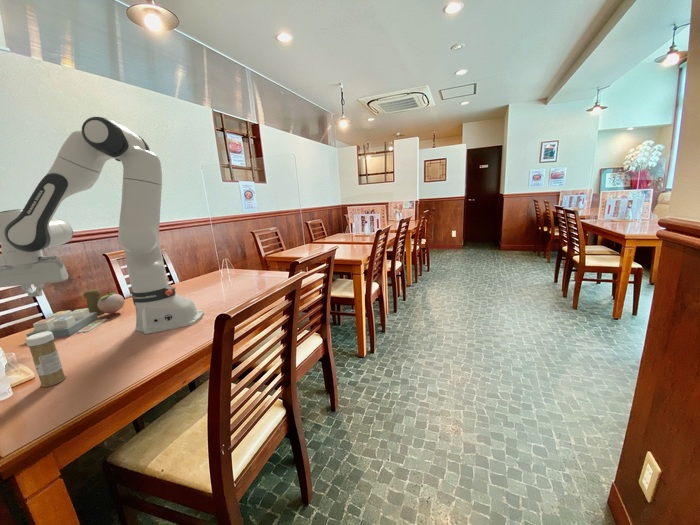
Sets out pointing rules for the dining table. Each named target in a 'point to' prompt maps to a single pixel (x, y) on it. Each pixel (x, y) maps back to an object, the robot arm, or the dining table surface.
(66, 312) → the key
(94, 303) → the olive green cup
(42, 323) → the key
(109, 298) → the decorative fruit
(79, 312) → the key
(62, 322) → the key
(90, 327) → the strip
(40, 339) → the sprinkles bottle
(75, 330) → the keypad board
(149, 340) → the dining table surface
